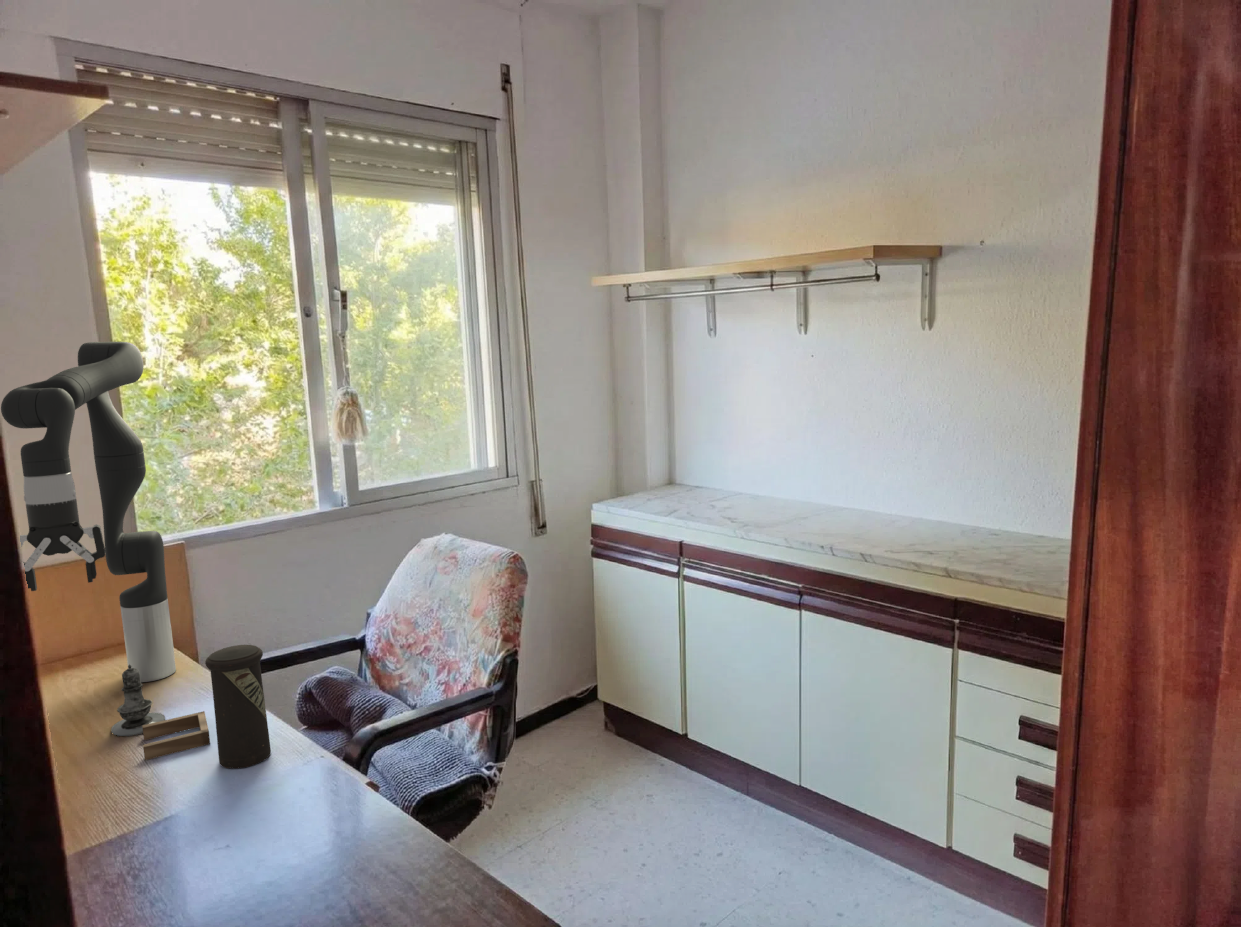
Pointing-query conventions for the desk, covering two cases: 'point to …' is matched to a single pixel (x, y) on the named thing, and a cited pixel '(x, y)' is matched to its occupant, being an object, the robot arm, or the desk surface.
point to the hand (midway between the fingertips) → (62, 585)
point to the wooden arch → (177, 742)
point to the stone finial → (134, 701)
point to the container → (239, 706)
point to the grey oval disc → (120, 731)
